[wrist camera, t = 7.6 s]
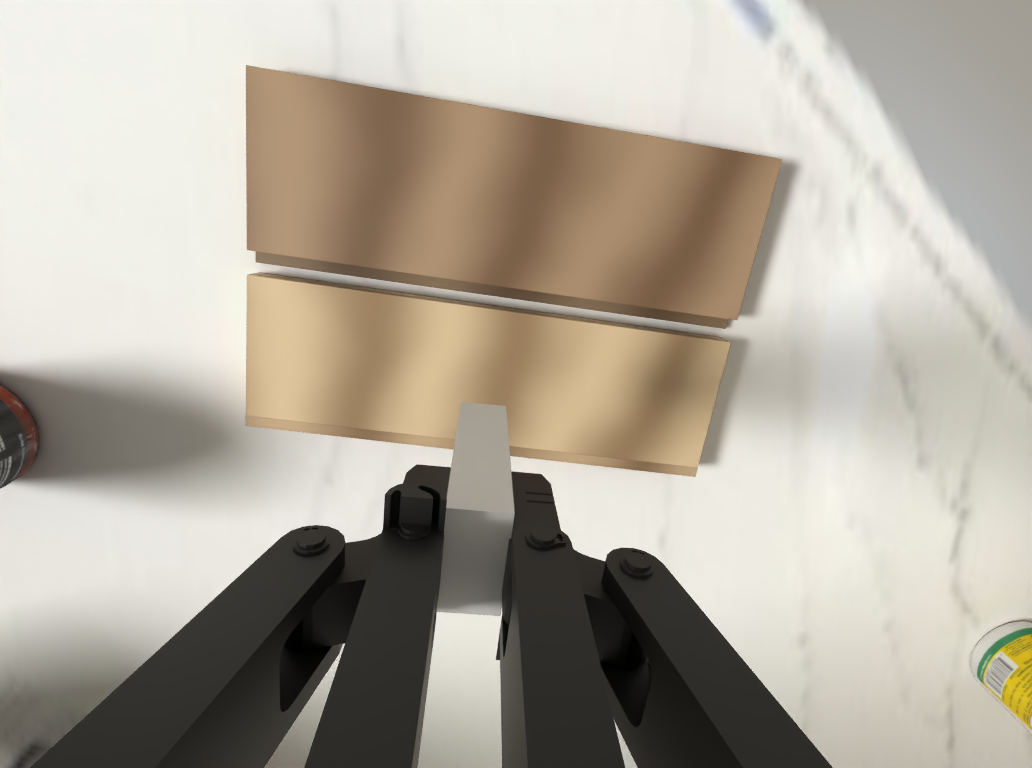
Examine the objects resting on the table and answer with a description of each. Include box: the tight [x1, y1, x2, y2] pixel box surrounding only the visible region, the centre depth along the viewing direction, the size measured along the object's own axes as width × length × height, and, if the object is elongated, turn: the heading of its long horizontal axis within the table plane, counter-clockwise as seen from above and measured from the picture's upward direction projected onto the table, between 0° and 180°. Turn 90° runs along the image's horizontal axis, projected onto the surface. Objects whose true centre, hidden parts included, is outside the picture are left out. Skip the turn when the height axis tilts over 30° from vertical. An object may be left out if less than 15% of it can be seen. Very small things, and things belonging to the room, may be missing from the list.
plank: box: [246, 273, 731, 477], centre depth 25 cm, size 22×7×1 cm, turn 81°
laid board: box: [246, 65, 782, 329], centre depth 23 cm, size 22×8×1 cm, turn 81°
